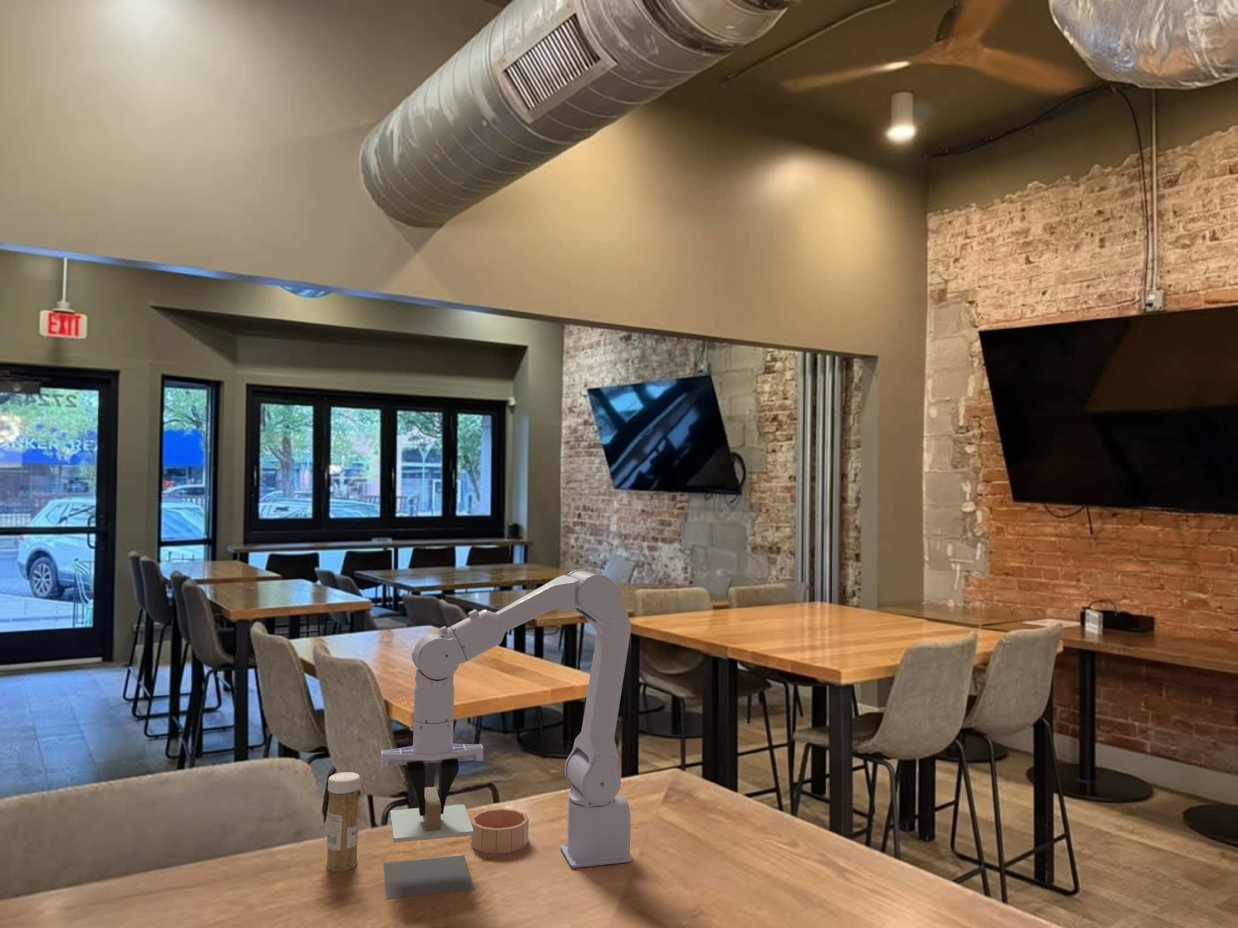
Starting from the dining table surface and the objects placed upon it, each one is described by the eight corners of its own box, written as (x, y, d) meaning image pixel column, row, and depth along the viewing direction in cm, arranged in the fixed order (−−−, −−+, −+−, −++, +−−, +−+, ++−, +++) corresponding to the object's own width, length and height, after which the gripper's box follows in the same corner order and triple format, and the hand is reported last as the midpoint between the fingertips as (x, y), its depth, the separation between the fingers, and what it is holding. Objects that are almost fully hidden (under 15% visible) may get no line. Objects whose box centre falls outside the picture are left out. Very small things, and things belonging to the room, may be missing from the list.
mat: (464, 857, 136) (464, 854, 136) (474, 891, 124) (474, 889, 124) (383, 865, 132) (383, 862, 132) (386, 901, 121) (386, 898, 121)
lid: (464, 808, 136) (464, 781, 136) (473, 835, 125) (474, 805, 125) (390, 814, 132) (390, 786, 132) (393, 842, 122) (394, 812, 122)
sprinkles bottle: (361, 869, 131) (364, 777, 131) (330, 876, 128) (333, 782, 129) (352, 858, 135) (355, 769, 135) (321, 864, 132) (324, 773, 133)
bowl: (521, 830, 147) (522, 806, 147) (532, 852, 138) (532, 826, 138) (467, 835, 144) (467, 811, 144) (474, 857, 136) (475, 831, 136)
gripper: (479, 709, 135) (477, 799, 135) (381, 714, 131) (378, 807, 130) (486, 721, 128) (484, 815, 128) (383, 726, 124) (380, 824, 124)
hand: (431, 812), depth 129 cm, fingers closed on lid, 2 cm apart
